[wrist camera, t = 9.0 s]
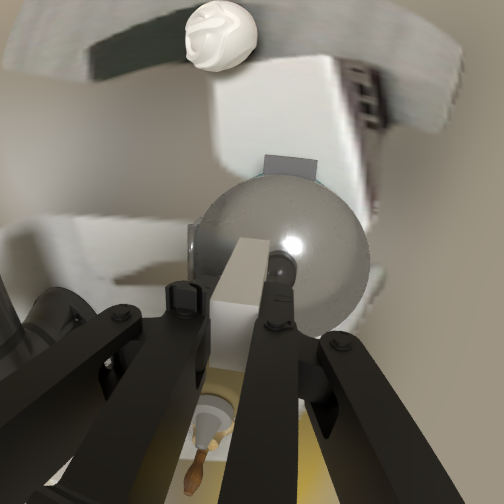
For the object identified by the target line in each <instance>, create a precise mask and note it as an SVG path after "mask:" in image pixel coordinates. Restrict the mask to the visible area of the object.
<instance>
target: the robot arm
mask: <svg viewBox="0 0 504 504" xmlns="http://www.w3.org/2000/svg"><path fill="white" fill-rule="evenodd" d="M269 248H270V240H263V239H253V238H243V237H240V238H239V241H238V243H237V245H236V247H235V249H234V251H233V253H232V255H231V257H230V259H229V261H228V263H227V265H226V267H225V269H224V271H223V274H222V276H221V277H217V276H209V275H203V276H201V277H199V278H198V279H196V280H195V282H193V281H177V282H173V283H171V284H169V285H167V286H166V287H165V291H166V309H167V310H166V311H165V313H164V314H163V316H162V317H156V318H142V314H141V311H140V309H139V308H137V307H135V306H133V305H128V304H119V305H115V306H112V307H109V308H107V309H106V310H104V311H103V312H101V313H100V314H98V315H96V314H95V312H94V311H93V310H92V309H91V307H90V306H89V305H88V304H87V303H86V302H85V301H84V300H83V299H81V298H80V297H79V296H78V295H76V294H75V293H73V292H71V291H69V290H67V289H64V288H58V287H55V288H50V289H48V290H47V291H45V292H44V293H43V294H41V295H40V296H39V297H38V298H37V299H36V301H35V303H34V305H33V308H32V309H31V311H30V312H29V314H28V315H27V317H26V319H25V321H24V322H23V323H22V324H21V322H20V320H19V318H18V316H17V314H16V311H15V309H14V307H13V305H12V303H11V300H10V298H9V296H8V293H7V291H6V288H5V286H4V284H3V281H2V279H1V276H0V504H25V503H26V504H164V502H165V499H166V496H167V493H168V489H169V487H170V484H171V481H172V478H173V475H174V472H175V469H176V466H177V463H178V460H179V457H180V454H181V451H182V448H183V445H184V442H185V439H186V436H187V433H188V430H189V427H190V424H191V421H192V418H193V415H194V412H195V409H196V406H197V403H198V400H199V397H200V394H201V391H202V388H203V385H204V382H205V379H206V365H207V362H208V359H209V367H213V368H219V369H226V370H233V371H240V372H245V374H244V379H243V384H242V389H241V394H240V399H239V404H238V409H237V414H236V419H235V424H234V428H233V433H232V438H231V443H230V448H229V452H228V457H227V462H226V466H225V471H224V476H223V480H222V485H221V490H220V494H219V499H218V504H297V478H298V398H300V399H303V400H304V402H305V407H306V410H307V413H308V416H309V418H310V421H311V424H312V426H313V429H314V432H315V435H316V438H317V441H318V443H319V446H320V449H321V452H322V455H323V457H324V460H325V463H326V466H327V468H328V471H329V474H330V477H331V480H332V482H333V485H334V488H335V491H336V493H337V496H338V499H339V502H340V504H465V502H464V501H463V499H462V497H461V496H460V494H459V492H458V490H457V489H456V487H455V485H454V484H453V482H452V480H451V479H450V477H449V476H448V474H447V472H446V471H445V469H444V467H443V466H442V464H441V462H440V461H439V460H438V458H437V456H436V454H435V453H434V451H433V450H432V448H431V446H430V445H429V443H428V442H427V440H426V438H425V437H424V435H423V434H422V432H421V431H420V429H419V427H418V426H417V424H416V423H415V421H414V420H413V418H412V417H411V415H410V414H409V412H408V410H407V409H406V407H405V406H404V404H403V403H402V401H401V400H400V398H399V397H398V395H397V394H396V392H395V391H394V389H393V388H392V386H391V385H390V383H389V382H388V380H387V379H386V377H385V376H384V374H383V373H382V371H381V370H380V368H379V367H378V365H377V364H376V363H375V361H374V360H373V358H372V357H371V355H370V354H369V352H368V351H367V350H366V348H365V346H364V345H363V344H362V342H361V341H360V340H359V339H358V338H357V337H356V336H354V335H352V334H350V333H348V332H344V331H330V332H326V333H325V334H323V335H322V336H321V338H320V340H319V339H315V338H312V337H309V336H307V335H305V334H303V333H301V332H300V331H299V330H298V329H297V325H296V322H295V321H294V290H293V289H292V287H291V286H290V285H289V284H286V283H277V282H268V281H266V277H267V267H268V258H269ZM109 358H111V364H110V365H108V366H106V367H105V364H104V362H105V361H106V360H108V359H109ZM72 457H73V458H72ZM71 458H72V460H71V462H70V463H69V465H68V467H67V469H66V470H65V472H64V474H63V475H62V477H61V479H60V480H59V481H58V483H57V484H55V485H53V486H43V485H44V484H45V483H46V482H47V481H48V480H49V479H50V478H51V477H52V476H53V475H54V474H56V473H57V471H58V470H59V469H61V468H62V467H63V465H65V464H66V462H68V460H70V459H71Z"/></svg>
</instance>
